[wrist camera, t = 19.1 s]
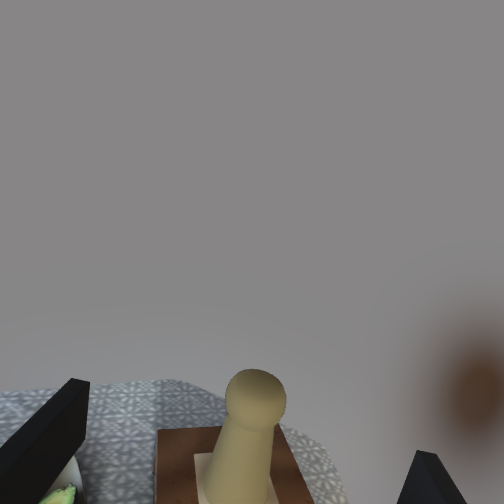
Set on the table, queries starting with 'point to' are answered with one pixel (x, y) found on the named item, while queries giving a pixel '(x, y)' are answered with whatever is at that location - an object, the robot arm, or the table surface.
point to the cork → (245, 440)
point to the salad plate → (67, 486)
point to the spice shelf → (197, 459)
